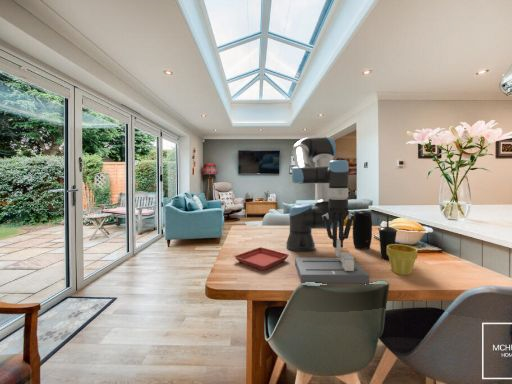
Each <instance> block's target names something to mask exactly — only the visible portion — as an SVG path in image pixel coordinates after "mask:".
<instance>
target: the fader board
mask: <svg viewBox="0 0 512 384" xmlns="http://www.w3.org/2000/svg"><path fill="white" fill-rule="evenodd" d="M294 266H295V269H296V271H297V274H298V277H299V281H300V284H301V283H302V284H304V283H303V282H322V283H321V284H370V274H369V273H368V272H367V271H366V270H365V269H364V268H362V267H361V265H359V264H358V263H357V262H356V261H355V260H354V271H345V270H344V269H343V267H342V262H341V261H340V260H339V259H338V257H294Z"/></svg>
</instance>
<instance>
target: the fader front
mask: <svg viewBox="0 0 512 384" xmlns="http://www.w3.org/2000/svg"><path fill="white" fill-rule="evenodd" d="M354 261H355V258H354V257H353V256H352V255H351V254H349V255H342V267H343V269H344V270H345V271H354Z"/></svg>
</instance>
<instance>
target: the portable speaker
mask: <svg viewBox="0 0 512 384" xmlns="http://www.w3.org/2000/svg"><path fill="white" fill-rule="evenodd" d="M353 213H354V214H353V216H355V218H354V220H353V221H352V241H353V242H352V243H353V246H354V249H357V250H363V249H367V250H370V249H371V244H372V238H373V222H372V221H373V219H372V213H371V211H367V210H360V211H354V212H353Z"/></svg>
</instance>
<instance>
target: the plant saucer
mask: <svg viewBox="0 0 512 384" xmlns="http://www.w3.org/2000/svg"><path fill="white" fill-rule="evenodd" d="M289 256H290V255H289V254H288V253H284V252H280V251H276V250H272V249H269V248H266V247H260V246H259V247H256V248H254V249H252V250H248V251H245V252H242V253H239V254H237V255H234V258H235V259H236V260H237V261H238V262H239V263H240V262H242V263H241V264H243V263H244V265H246V264H247V265H246V266H249V265H250V266H249V267H252V266H253V267H252V268H255V269H257V270H260V269H261V271H265V270H268V269H269V268H273V267H274V266H276V265H278V264H280V263H283V262H285V261H286V259H288V258H289Z"/></svg>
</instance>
